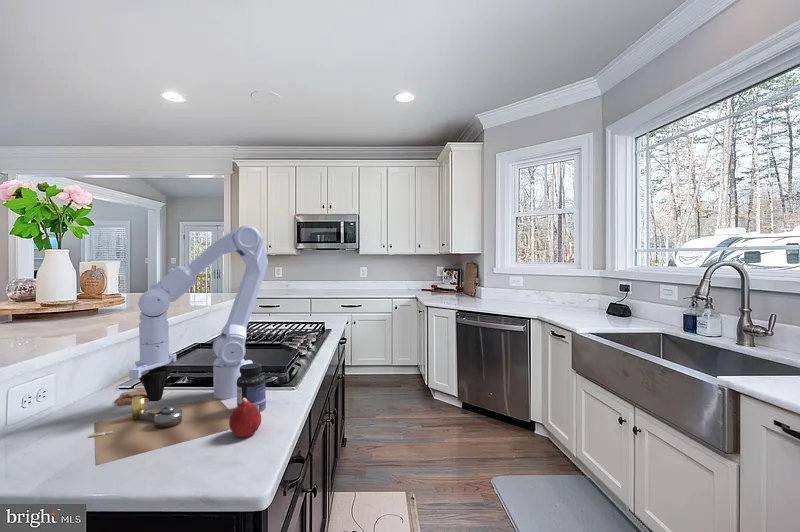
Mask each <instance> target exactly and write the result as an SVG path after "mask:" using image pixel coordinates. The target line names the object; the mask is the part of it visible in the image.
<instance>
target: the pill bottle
mask: <svg viewBox="0 0 800 532" xmlns="http://www.w3.org/2000/svg"><path fill="white" fill-rule="evenodd" d="M262 367H263V366H262V364H261V363H257V362H253V363H250V364H245V365H242V366H240V373H241V376H240V377H239V378H238V379H237V397H236V407H237V406H238V405H240V404H241V403H242V399H243V398H246V399H247V400H248V401H249V402H250V403H252V404H254V405H255V406H256V407H257V408H258V409H259V411H260V413H261V412H263V411H265V410H266V407H267V404H266V403H267V401H266V376H265V375H264V374H263V373H262V370H263V368H262Z"/></svg>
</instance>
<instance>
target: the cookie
mask: <svg viewBox="0 0 800 532" xmlns="http://www.w3.org/2000/svg"><path fill="white" fill-rule="evenodd" d="M140 396H144V397H145V404H147V403H150V402H151V401H149V399H148V396H147V393H146V390H145V388H138V389H134V390H129V391H125V392H122V393H120V395H119V397H117V398H116V399H115V402H114V404H115V405H116V404H117V406H122V407H123V406H129V405H130V406H132V399H133V398H135V397H140Z"/></svg>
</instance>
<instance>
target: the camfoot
mask: <svg viewBox="0 0 800 532" xmlns="http://www.w3.org/2000/svg"><path fill="white" fill-rule="evenodd" d="M162 408H163V411H160V412H158V413H156V414H155V413H150V412H147V411H146V403H145V397H144V396H140V397H135V398H133V399H132V404H131V415H132V419H143V420H148V421H153V422H154V426H155V427H157V428H166V427H171V426H174V425H177V424H179V423H181V422H182V410H181V409H174V407H171V406H165V407H162Z"/></svg>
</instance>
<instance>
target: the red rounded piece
mask: <svg viewBox="0 0 800 532" xmlns="http://www.w3.org/2000/svg"><path fill="white" fill-rule="evenodd" d="M231 412H232V414H231V416H230V420H229V426H230V429H231V430H230V431H231V432H232V433H233V434H234V435H236V436H237V437H239V438H247V437H250V436H252V435H254V434H255V433H256V432H257V431H258V430H259V428H260V426H261V423H262V414H261V412H260V411H259V409H258V408H257V407H256V406H255V405H254V404H252V403H250V402H249V401H248V400H247V399H246V398H243V399H242V403H241V404H240V405H238V406H237V405H236V407H235V408H234V409H233V411H231Z"/></svg>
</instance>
